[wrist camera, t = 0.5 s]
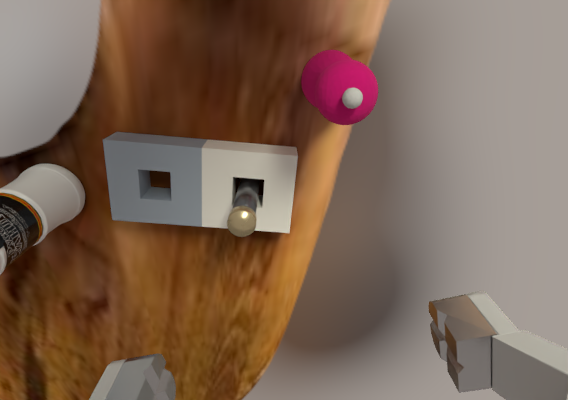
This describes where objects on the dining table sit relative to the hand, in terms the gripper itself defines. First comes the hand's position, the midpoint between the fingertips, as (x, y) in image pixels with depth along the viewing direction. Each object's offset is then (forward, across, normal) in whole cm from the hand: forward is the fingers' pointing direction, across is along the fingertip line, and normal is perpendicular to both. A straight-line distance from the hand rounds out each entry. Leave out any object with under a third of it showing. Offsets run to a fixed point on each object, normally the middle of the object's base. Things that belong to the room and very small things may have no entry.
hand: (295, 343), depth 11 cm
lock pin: (+43, +7, +9) cm, 45 cm away
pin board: (+43, +13, +7) cm, 46 cm away
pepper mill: (+43, -7, -3) cm, 44 cm away
